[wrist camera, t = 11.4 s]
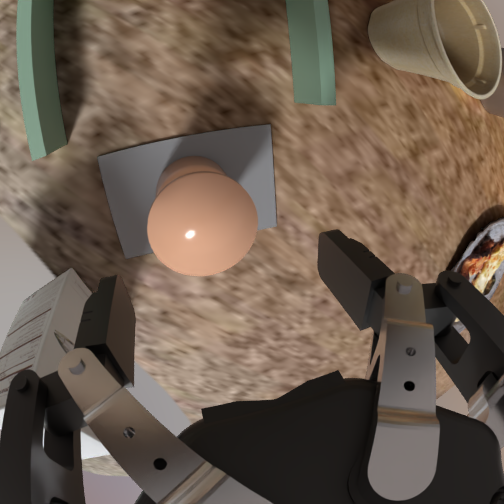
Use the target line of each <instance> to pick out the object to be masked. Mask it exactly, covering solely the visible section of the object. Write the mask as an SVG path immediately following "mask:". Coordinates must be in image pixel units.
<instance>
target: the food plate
mask: <svg viewBox="0 0 504 504" xmlns="http://www.w3.org/2000/svg"><path fill="white" fill-rule="evenodd" d="M481 229H482V227H481ZM483 230H484V231H483V232H481V231H480V232H479V233H477V238H476V240H475V241H471V242H470V243H469V245H468V247H467V248H466V251H465V253H464V254H463V255H464V256H461V257H462V258H461V259H460V260H459V261H458V262H457V263H456V265H455V266H454V267H453V268H452V270H451V271H454V272H457V273H459V274H461V275H463V276H464V277H465V278H466V279H467V280H468V281H469V282H470V283H471V284H472V285H474V286H475V287H476V288H477V289H478V290H479V291H480V292H481V293H482V294H483V295H484V296H485V297H486V298H487V299H488V300H490V299H491V297H492V296H493V294H494V292H495V290H496V288H497V286H498V284H499V283H498V282H500V278H502V276H503V273H504V217H502V218H500V219H499V220H496V221H492V222H490V223H489V225H486V227H485V228H483ZM497 283H498V284H497ZM489 298H490V299H489ZM453 327H454V328H455V329H456V330H457V331H458V333H460V332H461V331H463V330H464V329H465V328H466V327H465V326H464V325H463V324H462V323H461V321H460V320H459V319H458V318H456V320H455V322H454V325H453Z"/></svg>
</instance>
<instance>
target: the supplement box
mask: <svg viewBox="0 0 504 504" xmlns="http://www.w3.org/2000/svg"><path fill="white" fill-rule="evenodd" d="M91 294H92V292H91V291H90V290H89V289H88V287H87V286H86V285H85V284H84V283H83V281H82V280H81V279H80V277H79V276H78V275H77V273H76V272H75V271H74V269H73V268H70V269H69V270H67V271H66V272H64V273H63V274H61V275H60V276H58V277H57V278H55V279H54V280H52V281H51V282H50V283H48V284H47V285H45V286H44V287H42V288H41V289H40V290H38V291H36V292H35V293H34V294H32V295H31V296H30V297H28V298H27V299H26V300H24V301H23V303H22V305H21V307H20V309H19V311H18V313H17V315H16V317H15V319H14V321H13V323H12V325H11V327H10V330H9V332H8V334H7V337H6V339H5V342H4V344H3V346H2V349H1V352H0V429H1V430H2V423H3V417H4V411H5V405H6V400H7V395H8V390H9V386H10V383H11V381H12V379H13V378H14V377H15V376H16V375H17V374H18V373H19V372H21V371H23V370H27V369H30V370H33V371H35V372H36V373H37V375H38V376H39V377H40V378H41V377H44V376H46V375H48V374H51V373H53V372H55V371H57V370H58V365H59V362H60V361H61V359H62V358H63V356H64V355H65V354H67V353H68V352H69V351H71V350H73V349H74V345H75V341H76V336H77V332H78V328H79V324H80V322H81V321H80V320H81V316H82V314H83V313H82V312H83V308H84V305H85V302H86V301H87V300H88V298H89V297H90V295H91ZM44 431H45V429H44ZM44 431H43V448H44ZM109 454H110V453H109V452H108V451H107V450H106V448H105V447H104V446H103V445H102V443H101V442H100V441H99V439H98V438H97V437H96V435H95V434H94V433H93V431H92V430H91V429H90V427H89V426H86V427H83V428H81V459H87V458H93V457H98V456H104V455H109Z"/></svg>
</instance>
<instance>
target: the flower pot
mask: <svg viewBox="0 0 504 504" xmlns="http://www.w3.org/2000/svg"><path fill="white" fill-rule="evenodd" d="M368 35H369V39H370V42H371V44H372V47H373V48H374V50H375V52H376V53H377V55H378V56H379V57H380V59H381V60H382V61H384V62H385V63H387V64H388V65H390V66H392V67H393V68H395V69H397V70H403V71H408V72H413V73H417V74H421V75H425V76H429V77H433V78H437V79H440V80H444V81H447V82H450V83H451V84H452V85H454V86H456V87H457V88H460V89H462V90H463V91H464V92H465V93H467V94H468V95H470V96H472V97H474V98H477V99H486V98H488V97H489V96H491V95H492V94H493V93H494V91H495V90H496V88H497V86H498V84H499V81H500V76H501V71H502V50H501V44H500V39H499V34H498V32H497V28H496V25H495V23H494V21H493V18H492V16H491V14H490V12H489V10H488V8H487V6H486V5H485V3H484V1H483V0H394V1H392V2H390V3H387V4H385V5H382V6H380V7H378V8H376V9H375V10H373V12H372V13H371V17H370V21H369V25H368Z"/></svg>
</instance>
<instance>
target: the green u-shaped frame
mask: <svg viewBox="0 0 504 504" xmlns="http://www.w3.org/2000/svg"><path fill="white" fill-rule="evenodd" d="M53 5H54V0H18V7H17V64H18V77H19V88H20V96H21V104H22V111H23V117H24V123H25V128H26V134H27V139H28V144H29V148H30V153H31V157H32V161H33V160H36V159H39V158H41V157H44V156H46V155H48V154H50V153H52V152H54V151H55V150H57V149H59V148H61V147H63V146H65V145H67V139H66V134H65V129H64V124H63V118H62V112H61V106H60V99H59V92H58V84H57V75H56V65H55V51H54V28H53ZM286 9H287V18H288V27H289V37H290V48H291V60H292V72H293V86H294V101H295V103H306V104H315V105H336V92H335V73H334V58H333V46H332V35H331V25H330V16H329V7H328V0H286Z"/></svg>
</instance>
